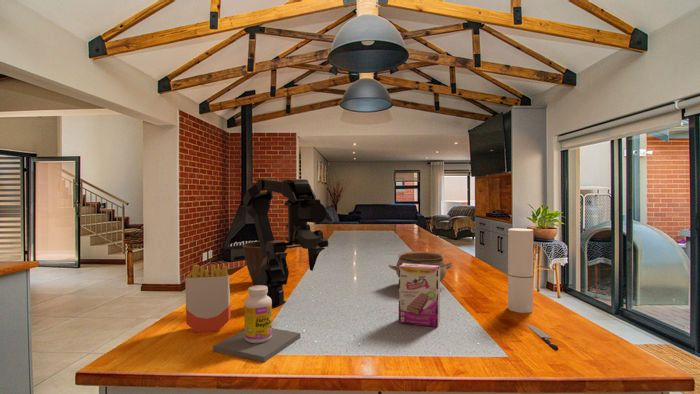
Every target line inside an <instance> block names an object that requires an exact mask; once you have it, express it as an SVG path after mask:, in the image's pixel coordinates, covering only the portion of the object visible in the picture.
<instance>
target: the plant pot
mask: <svg viewBox="0 0 700 394" xmlns="http://www.w3.org/2000/svg"><path fill="white" fill-rule="evenodd" d="M242 248H243V254H244V255H243V256H244V260H245V263H246V267H247V271H248V274H249V276H250V279H251V281H252V285H253V286H256V285H257V279H258V277H259V275H260V274H261V265H262V262H263V254H262V250H261V246H260V242H259V241H252V242H246V243H244V244H242Z"/></svg>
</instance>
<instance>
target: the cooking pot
mask: <svg viewBox="0 0 700 394" xmlns="http://www.w3.org/2000/svg"><path fill="white" fill-rule="evenodd" d="M397 257H398V259H397V262H396V265H392V264H389V265H388V267H389V269H392V270H393V271H395V272H396V274H397V275H396V276H397V277H398V278H399V266H400V265H401V264H402V263H408V264H422V265H436V266H440V283H441V282H442V281H443V280H444V278H445V277H446V274H447V270H448V269H450V268H452V267H453V263H452V262H448V263H445V261H444V259H443V258H444V257H445V255H444V254H442V253H438V252H433V251H418V250H417V251H416V250H415V251H405V252H400V253H398V254H397Z"/></svg>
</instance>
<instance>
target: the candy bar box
mask: <svg viewBox="0 0 700 394" xmlns="http://www.w3.org/2000/svg"><path fill="white" fill-rule="evenodd" d="M440 303H441V282H440V266H436V265H422V264H408V263H402V264H401V265H400V266H399V277H398V323H399V324H406V325H413V326H414V325H415V326H422V327H423V326H424V327H431V328H438V326H439V324H440V322H441V321H440V320H441V319H440V318H441V316H440V315H441V313H440V312H441V308H440V307H441V306H440V305H441V304H440Z"/></svg>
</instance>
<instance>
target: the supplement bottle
mask: <svg viewBox="0 0 700 394" xmlns="http://www.w3.org/2000/svg"><path fill="white" fill-rule="evenodd" d="M247 292H248V296H247V298H246V299H245V300H244V304H243V305H244V306H243V309H244V311H243V312H244V329H245V340H246V341H247V342H250V343H262V342H266V341H268V340H269V339H271V337H272V328H273V309H272V308H273V307H272V300H271V298H270V297H269V296H267V292H268V287H267V286H264V285H251V286H250V287H248V289H247Z"/></svg>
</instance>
